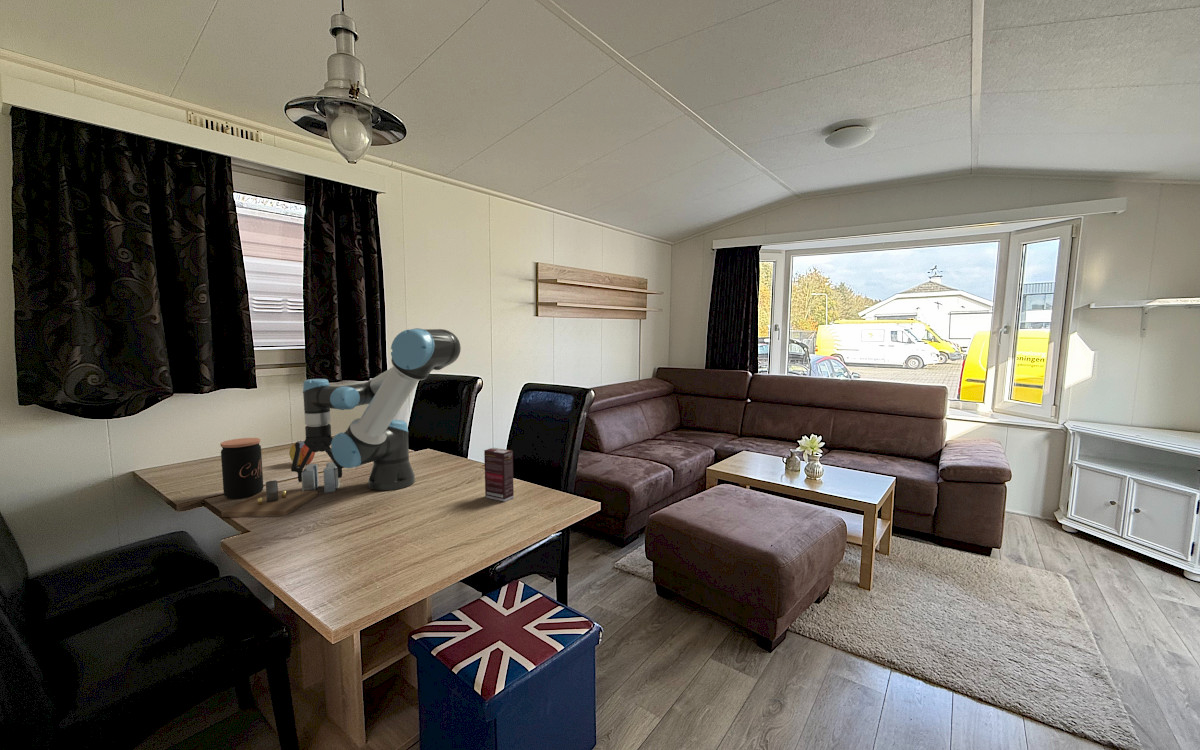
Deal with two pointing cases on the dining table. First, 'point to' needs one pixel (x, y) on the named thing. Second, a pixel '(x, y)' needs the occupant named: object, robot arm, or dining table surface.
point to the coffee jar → (241, 468)
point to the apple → (301, 454)
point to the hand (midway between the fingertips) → (321, 488)
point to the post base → (270, 502)
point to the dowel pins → (260, 499)
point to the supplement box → (499, 474)
